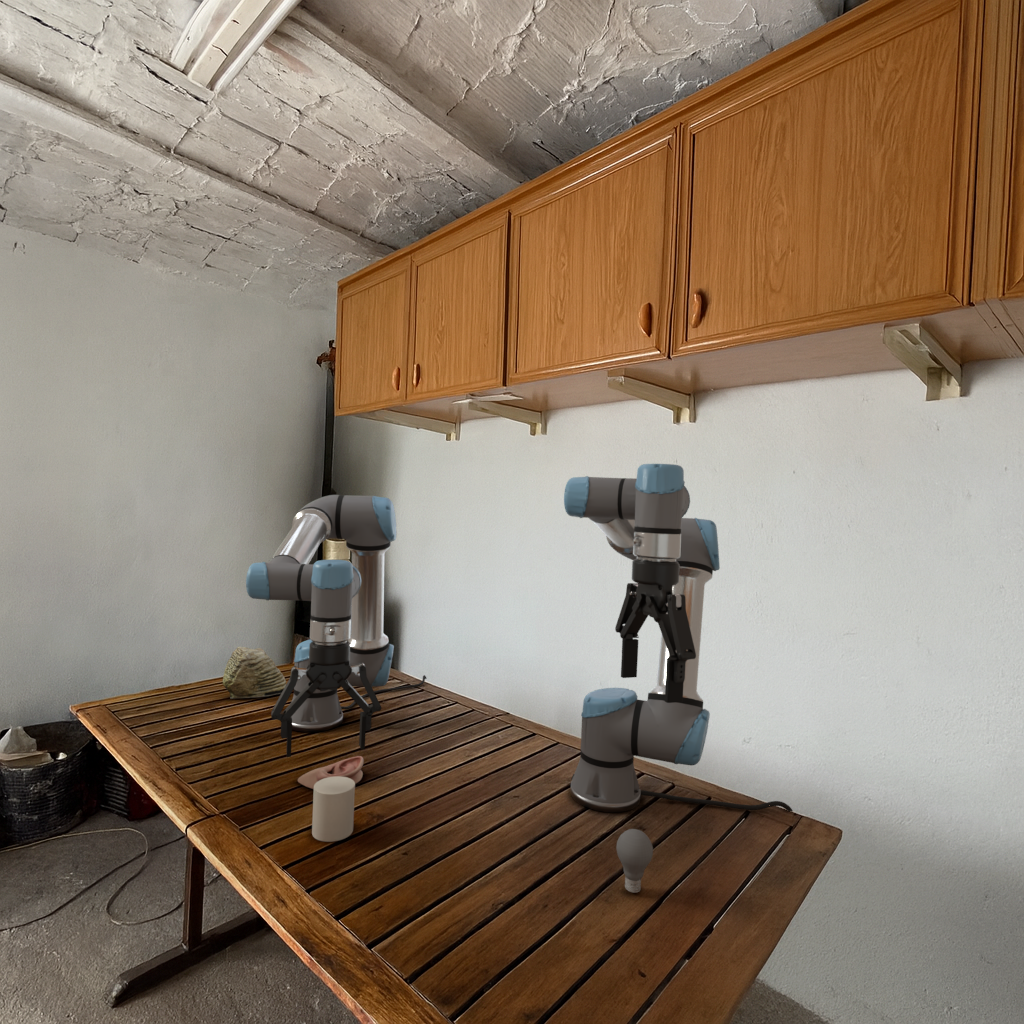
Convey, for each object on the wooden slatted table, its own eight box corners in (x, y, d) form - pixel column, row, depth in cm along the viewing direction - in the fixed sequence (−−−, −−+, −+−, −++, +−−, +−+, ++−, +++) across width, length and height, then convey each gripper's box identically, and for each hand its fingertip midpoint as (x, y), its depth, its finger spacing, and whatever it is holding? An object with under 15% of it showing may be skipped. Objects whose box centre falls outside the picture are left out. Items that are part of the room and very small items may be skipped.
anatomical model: (290, 768, 137) (317, 748, 149) (290, 786, 138) (316, 764, 149) (347, 776, 135) (370, 755, 146) (346, 794, 135) (369, 772, 146)
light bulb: (610, 879, 108) (613, 822, 108) (644, 879, 109) (647, 822, 109) (619, 902, 102) (622, 840, 102) (655, 901, 103) (658, 840, 103)
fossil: (218, 695, 195) (220, 647, 195) (278, 685, 208) (279, 640, 207) (228, 703, 189) (230, 653, 188) (289, 692, 201) (290, 645, 201)
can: (305, 839, 117) (306, 792, 117) (321, 819, 125) (323, 774, 124) (344, 843, 116) (346, 795, 116) (358, 823, 124) (360, 778, 124)
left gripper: (259, 648, 113) (255, 765, 114) (398, 642, 122) (394, 751, 123) (260, 639, 121) (256, 749, 121) (391, 634, 129) (387, 737, 130)
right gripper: (599, 551, 114) (594, 669, 114) (681, 567, 90) (673, 715, 90) (636, 552, 116) (631, 667, 116) (724, 568, 92) (717, 712, 93)
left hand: (326, 750), depth 122 cm, fingers open, 13 cm apart
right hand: (649, 688), depth 103 cm, fingers open, 13 cm apart
